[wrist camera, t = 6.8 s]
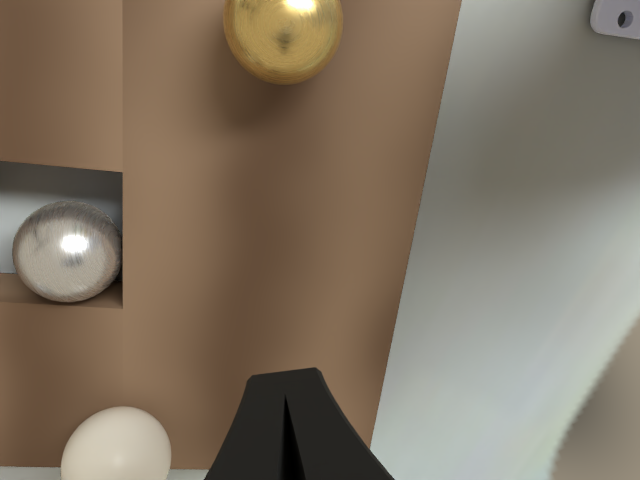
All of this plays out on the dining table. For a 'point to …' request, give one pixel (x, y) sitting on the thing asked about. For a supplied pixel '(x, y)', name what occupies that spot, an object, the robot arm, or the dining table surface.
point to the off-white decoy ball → (117, 447)
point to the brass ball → (283, 37)
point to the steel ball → (68, 251)
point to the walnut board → (215, 212)
